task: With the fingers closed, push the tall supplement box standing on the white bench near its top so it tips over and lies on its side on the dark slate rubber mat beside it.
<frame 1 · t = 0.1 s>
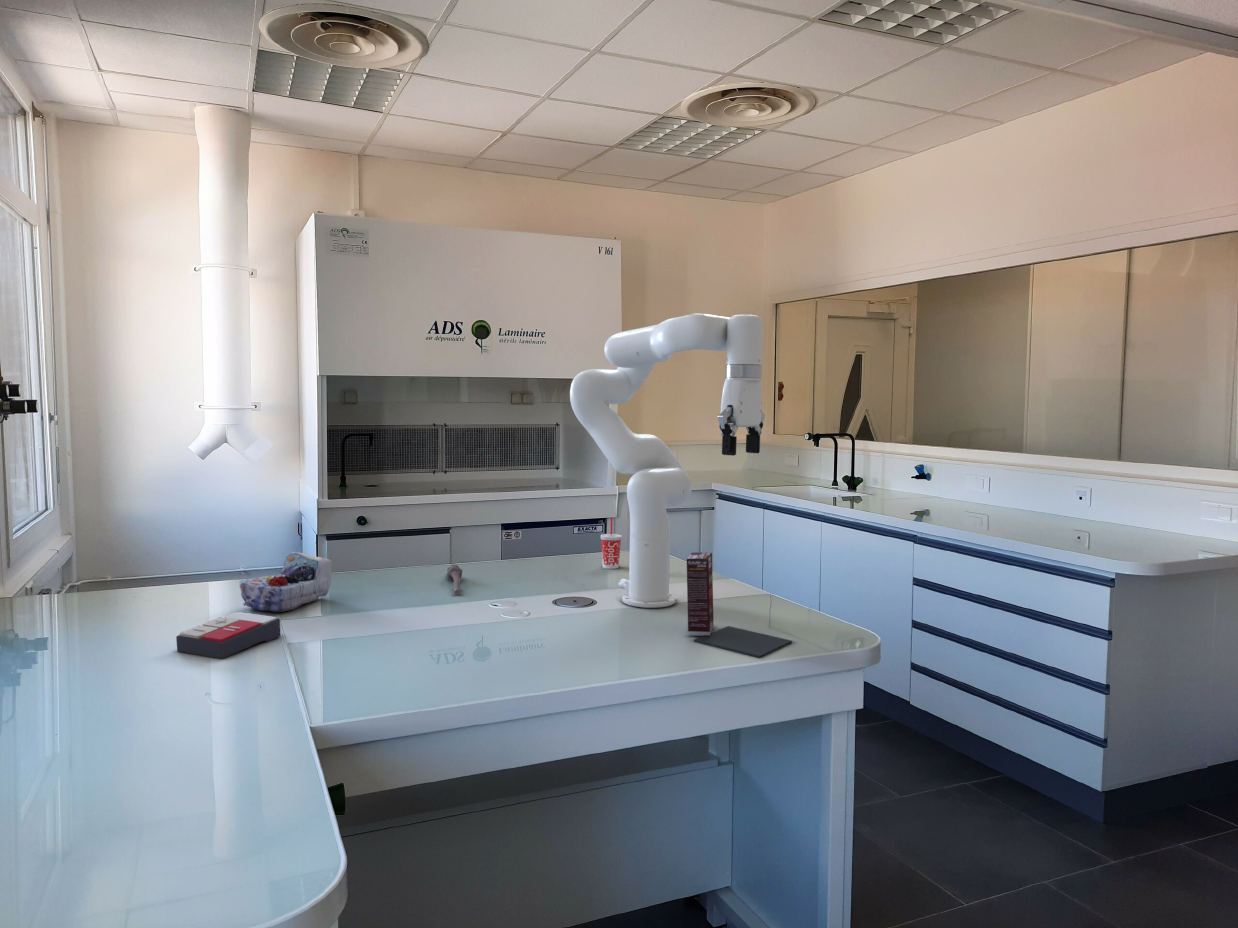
hand: (740, 453, 179), 37 cm above the counter, tool pointing down, fingers open, 9 cm apart
calculator: (230, 644, 160), on the counter
beverage cup: (610, 567, 235), on the counter
supplement box: (701, 631, 174), on the counter, touching mat
toy bassinet: (286, 605, 189), on the counter
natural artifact: (453, 585, 211), on the counter
mat: (743, 641, 168), on the counter
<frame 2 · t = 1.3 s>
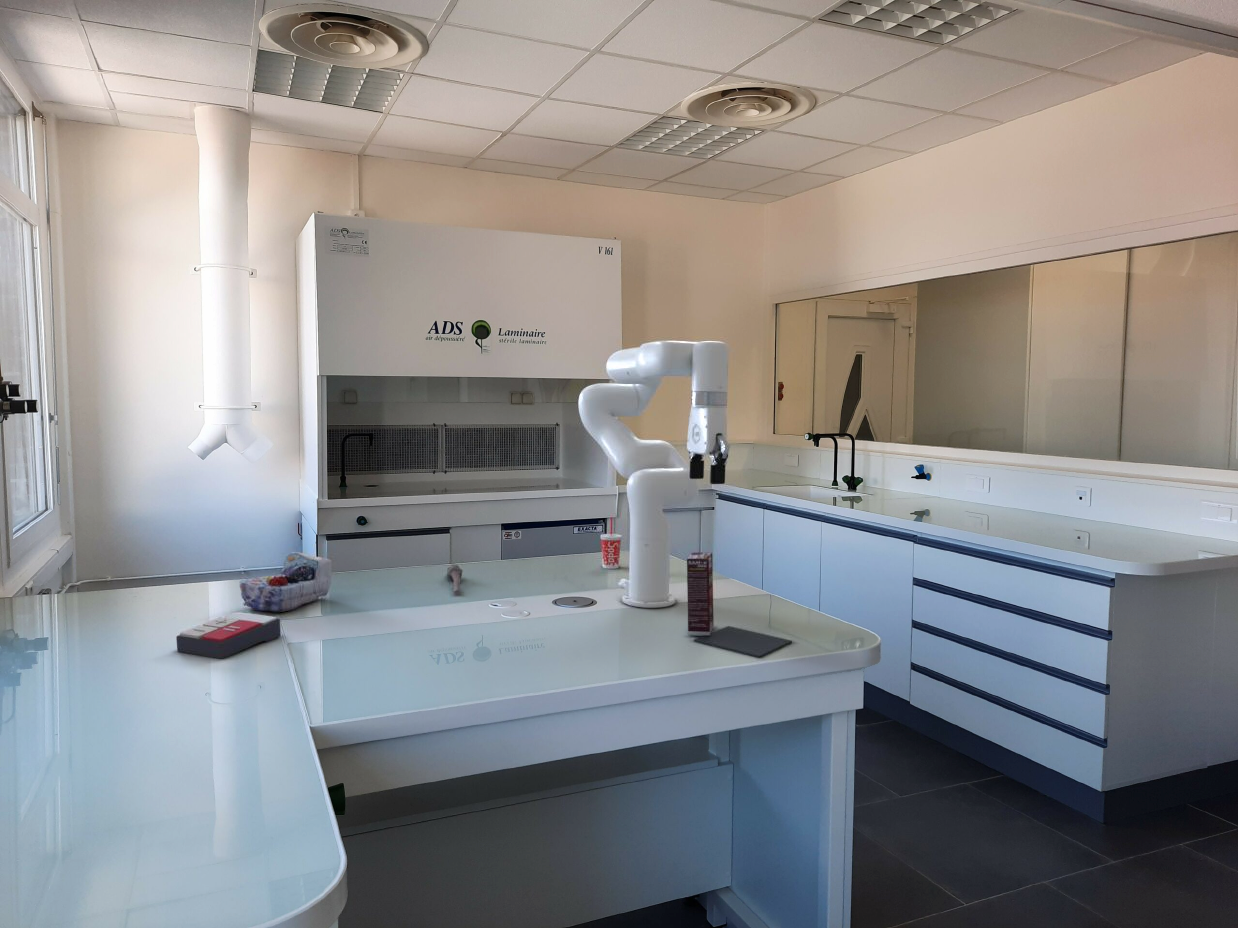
hand: (706, 481, 178), 31 cm above the counter, tool pointing down, fingers open, 9 cm apart
nothing on the counter moved.
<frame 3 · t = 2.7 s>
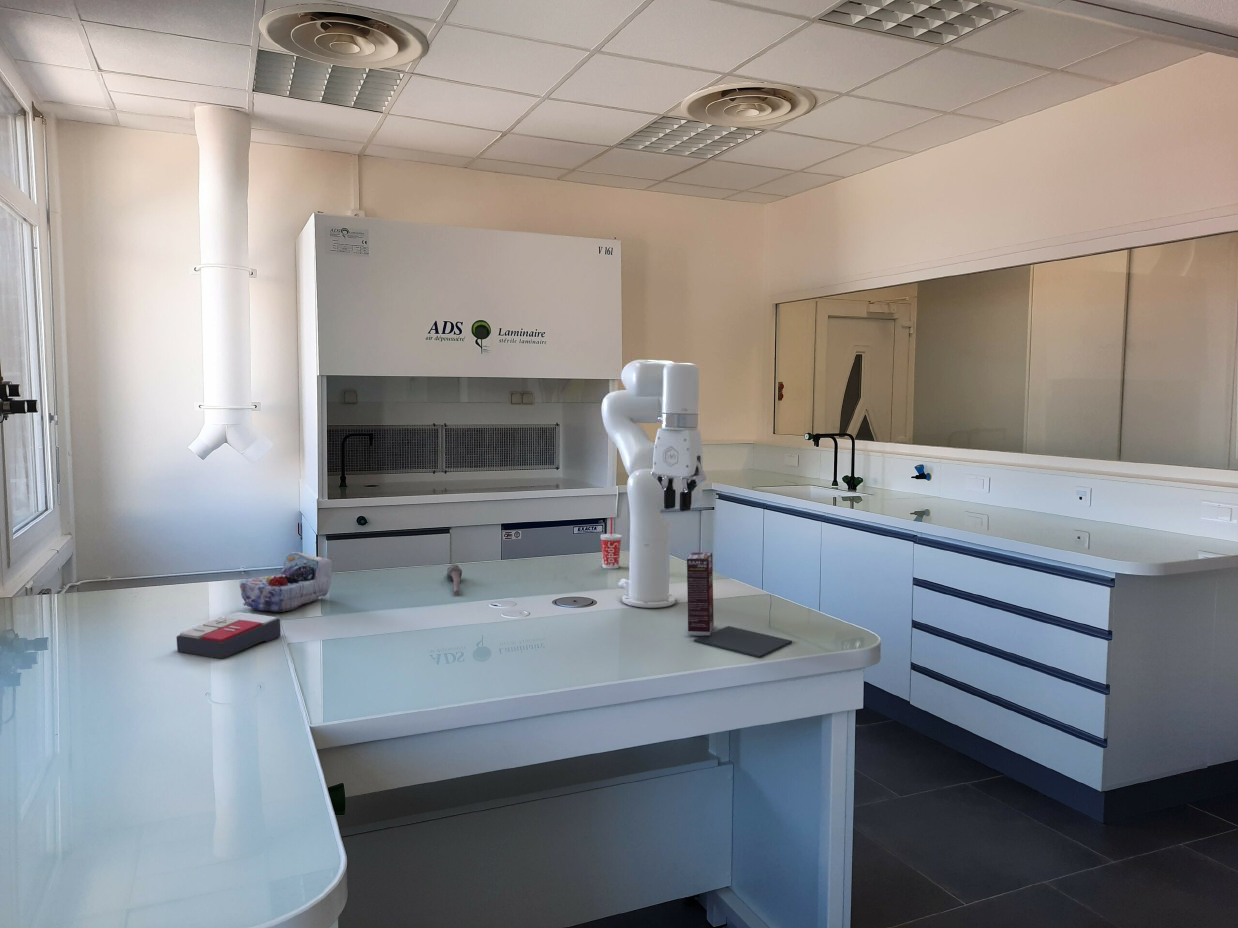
hand: (677, 508, 176), 25 cm above the counter, tool pointing down, fingers open, 3 cm apart
nothing on the counter moved.
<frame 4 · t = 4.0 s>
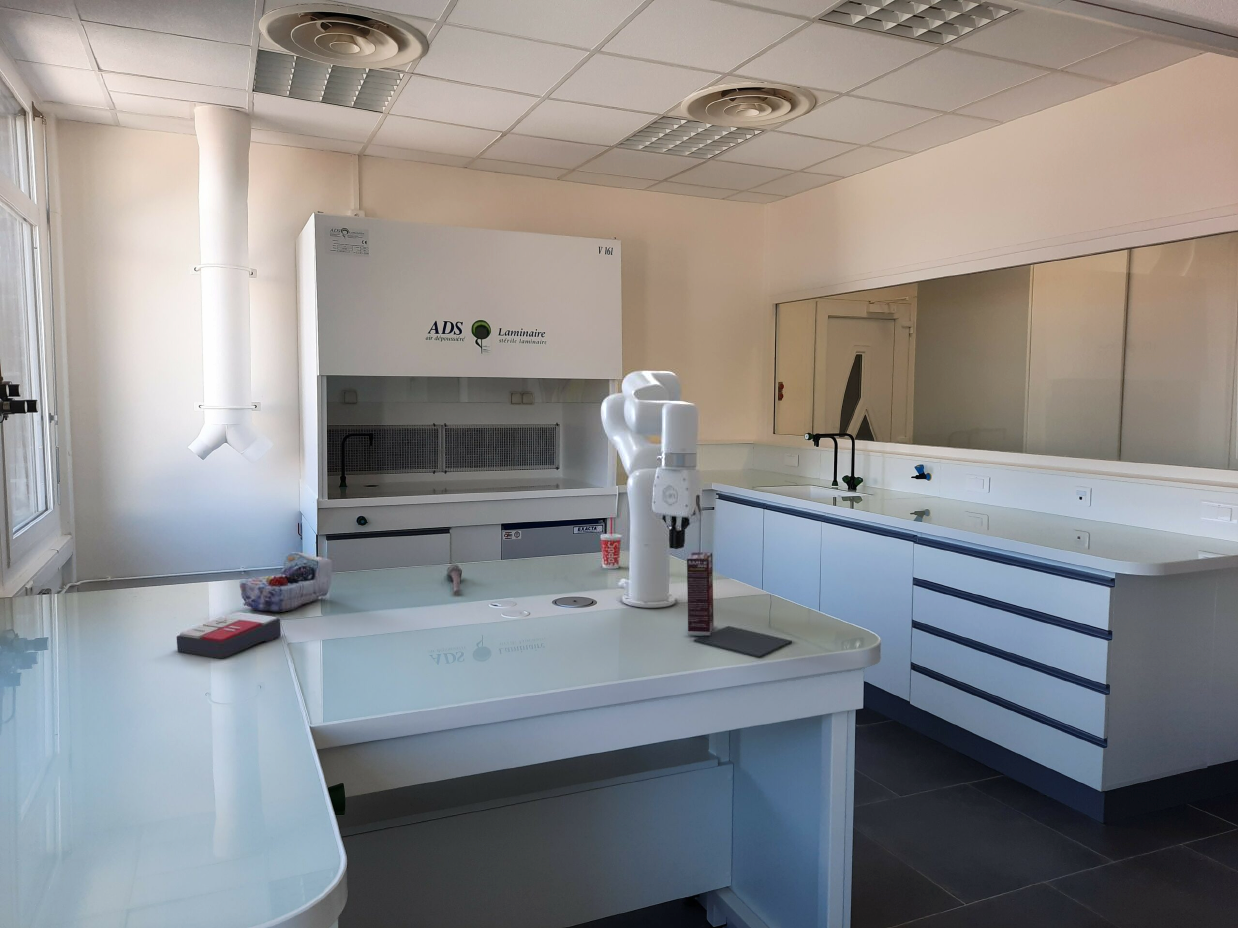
hand: (676, 547, 177), 17 cm above the counter, tool pointing down, fingers closed
nothing on the counter moved.
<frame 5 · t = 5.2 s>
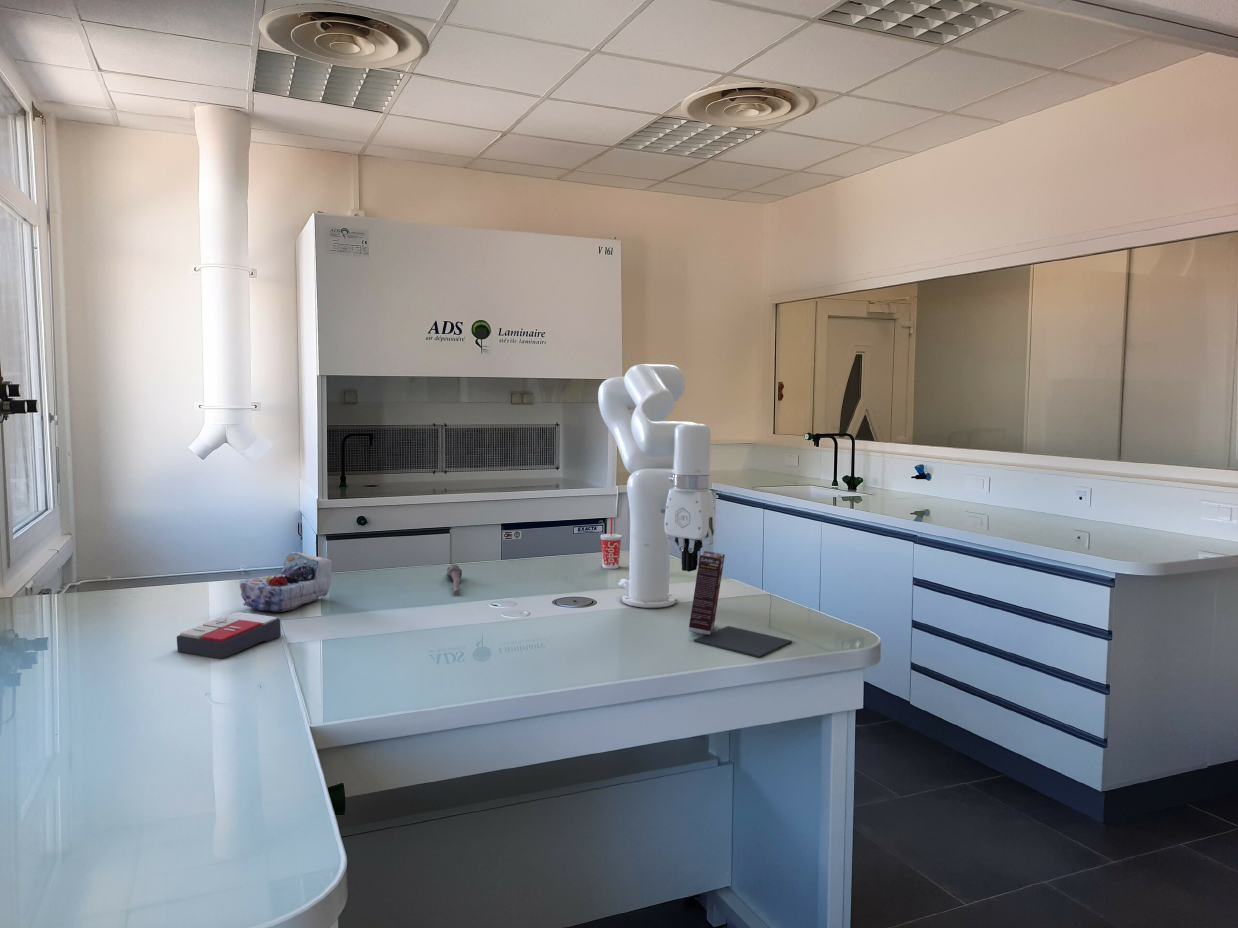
hand: (689, 570, 175), 13 cm above the counter, tool pointing down, fingers closed
supplement box: (701, 630, 174), on the counter, touching gripper, mat
everything else where it was.
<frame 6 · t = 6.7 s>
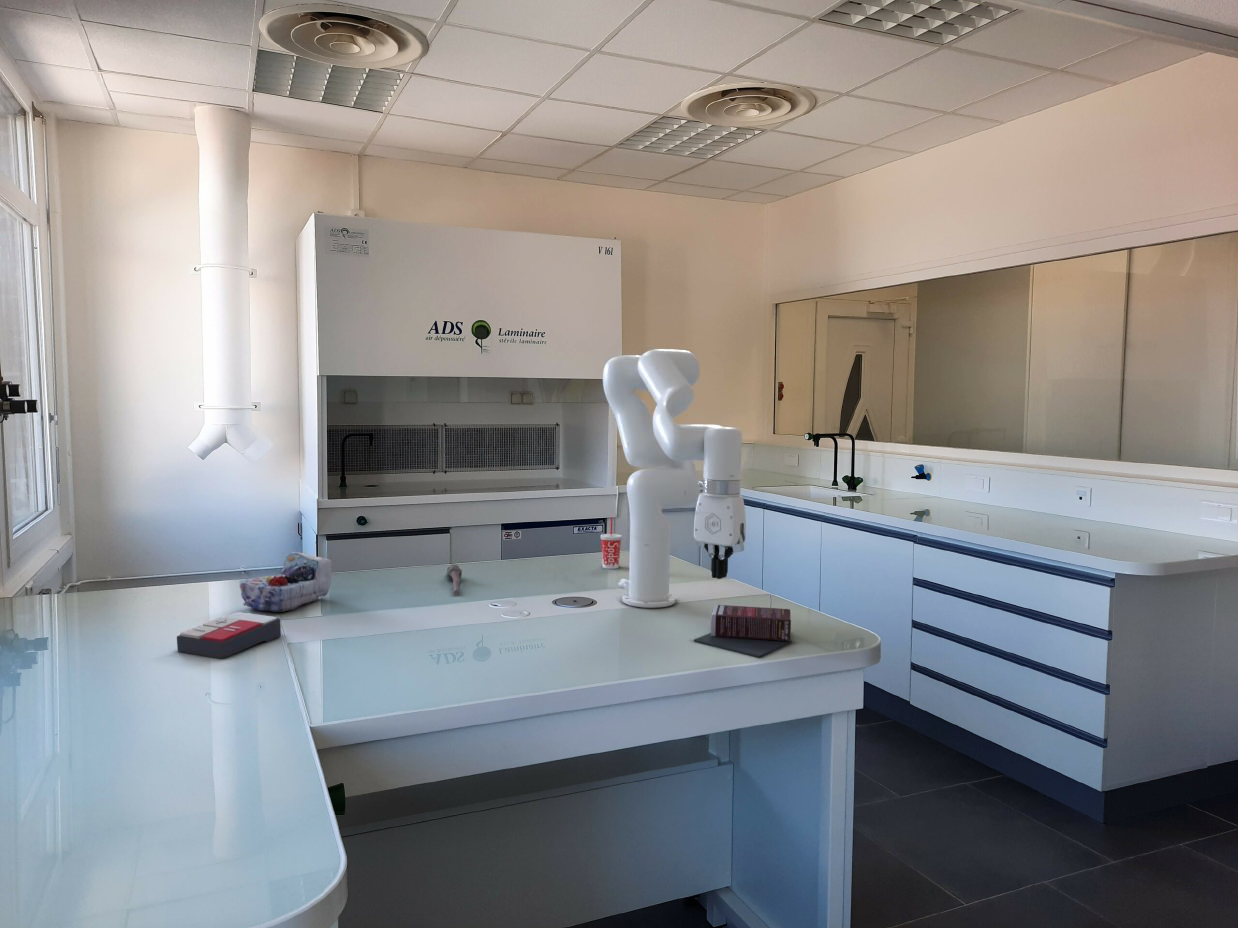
hand: (719, 577, 170), 12 cm above the counter, tool pointing down, fingers closed
supplement box: (711, 620, 173), point 3 cm above the counter, touching mat
everything else where it was.
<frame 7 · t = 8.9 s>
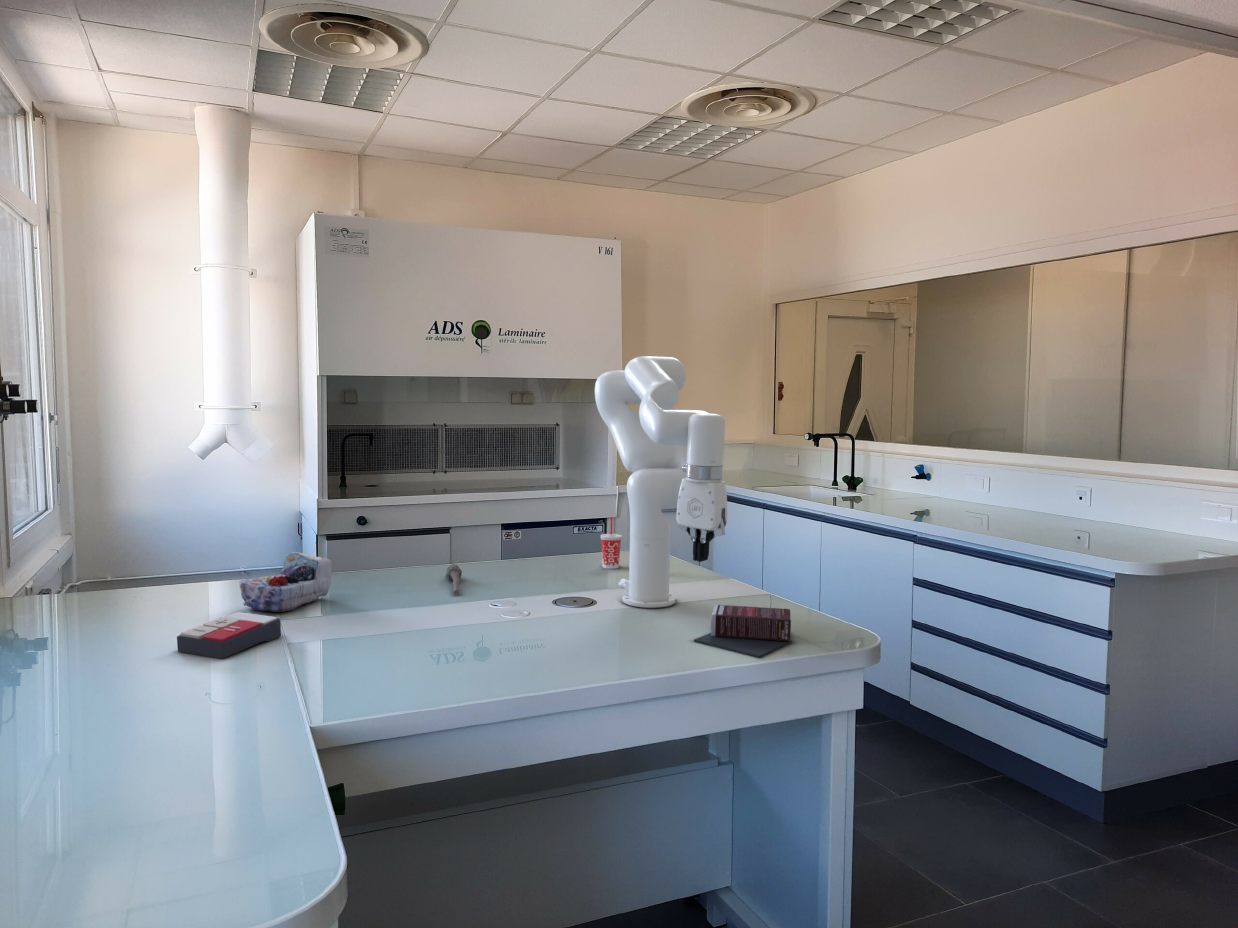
hand: (700, 560, 174), 15 cm above the counter, tool pointing down, fingers closed
nothing on the counter moved.
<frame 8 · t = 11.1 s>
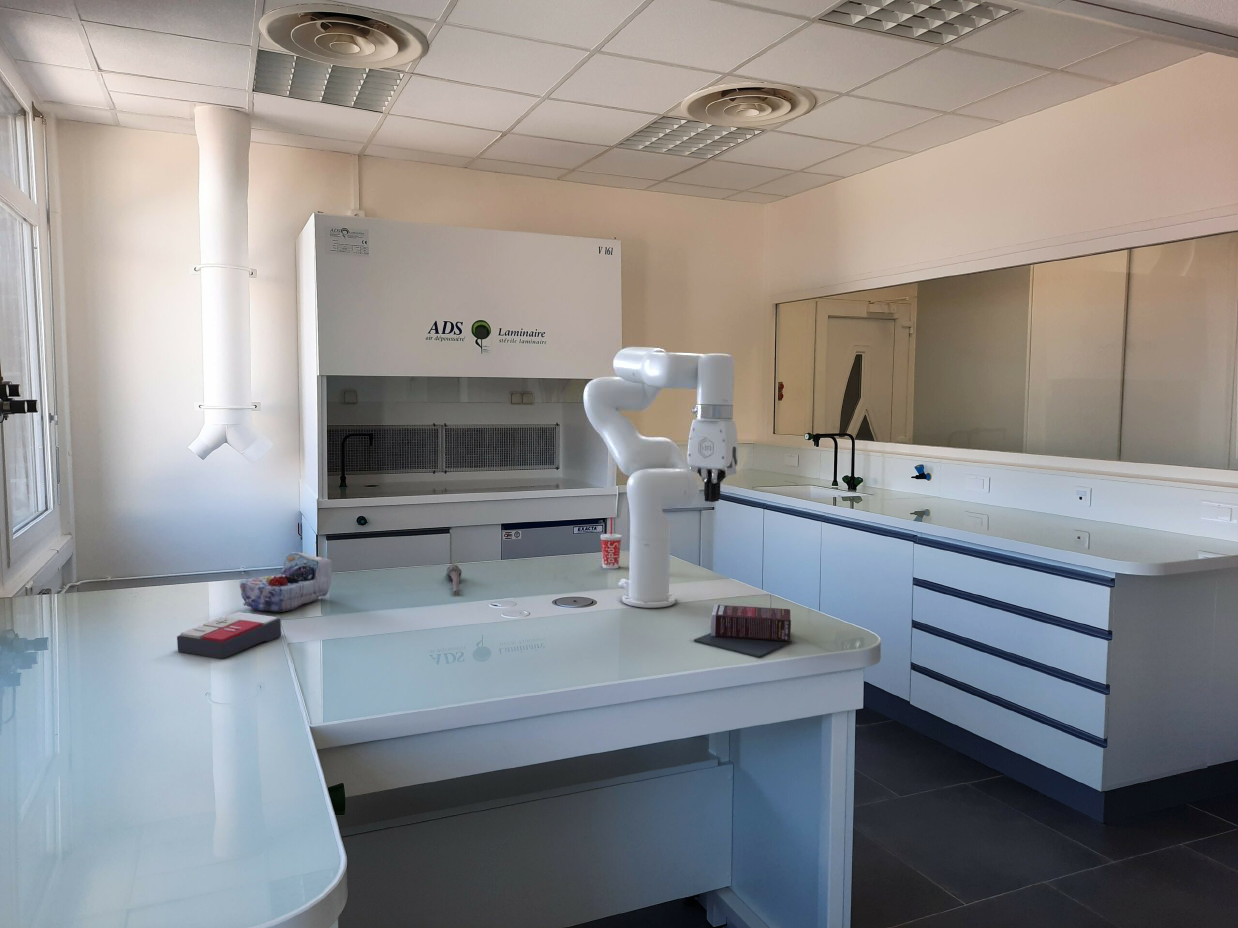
hand: (711, 500, 175), 27 cm above the counter, tool pointing down, fingers closed
nothing on the counter moved.
at the end: supplement box tilted 89°; supplement box touching mat; supplement box inside the target area (3.8 cm from its centre), point 2.7 cm above the counter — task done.
